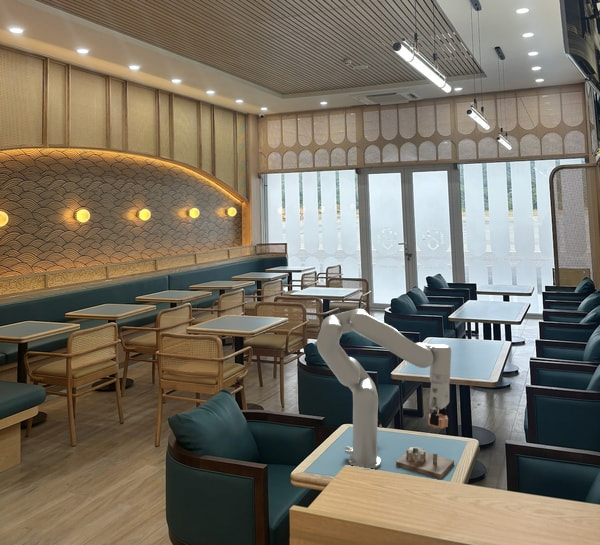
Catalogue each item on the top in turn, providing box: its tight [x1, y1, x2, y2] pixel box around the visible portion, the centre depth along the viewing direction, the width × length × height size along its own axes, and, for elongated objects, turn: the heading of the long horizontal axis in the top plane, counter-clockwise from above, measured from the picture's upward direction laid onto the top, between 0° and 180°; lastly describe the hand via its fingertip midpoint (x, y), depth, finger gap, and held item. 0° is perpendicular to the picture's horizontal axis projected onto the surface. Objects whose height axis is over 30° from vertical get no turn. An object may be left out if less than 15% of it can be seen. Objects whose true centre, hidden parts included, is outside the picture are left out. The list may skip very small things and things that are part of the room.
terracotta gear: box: [427, 413, 449, 429], centre depth 202 cm, size 7×7×3 cm
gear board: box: [395, 446, 455, 479], centre depth 203 cm, size 18×14×6 cm
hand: (437, 421), depth 202 cm, fingers closed on terracotta gear, 7 cm apart
